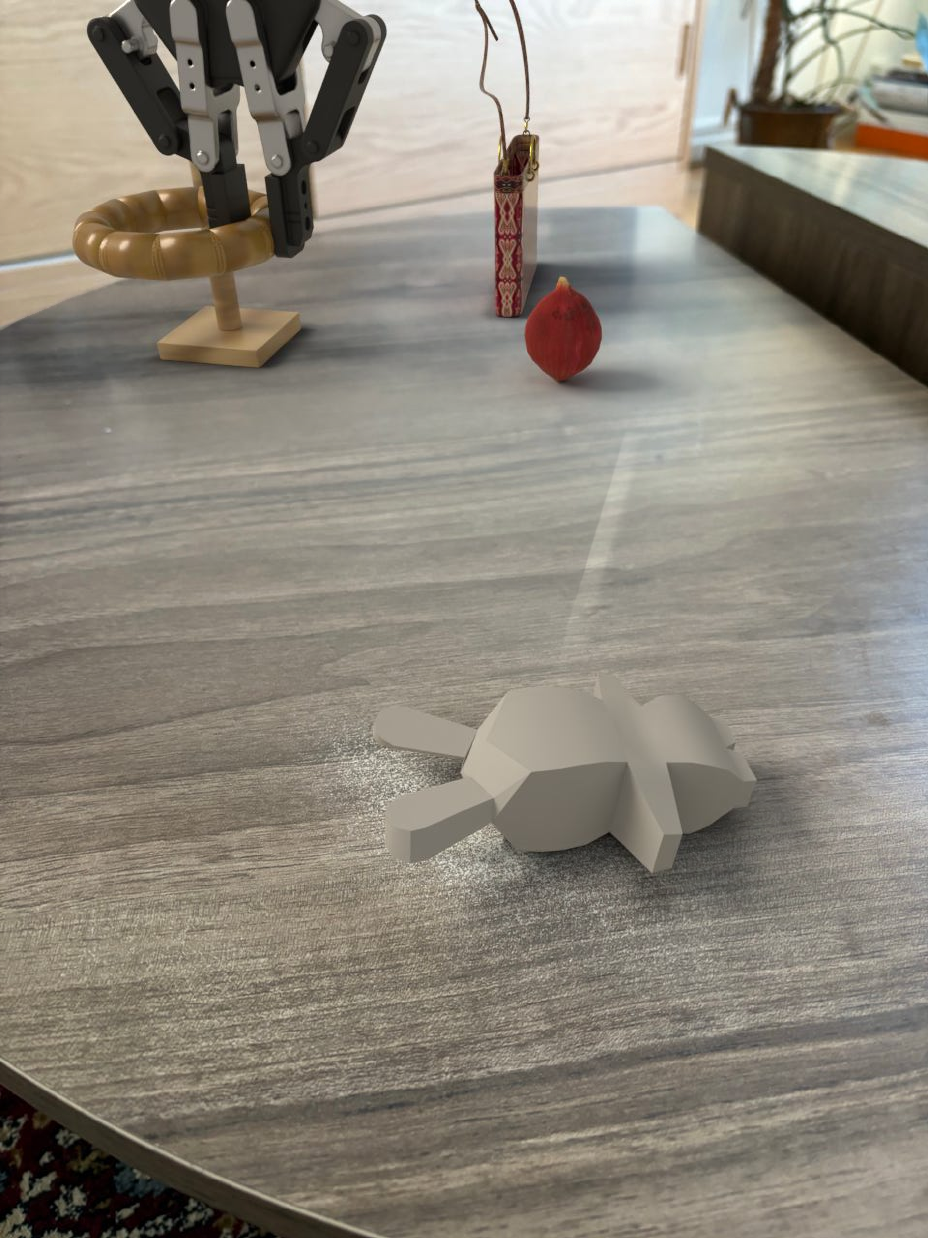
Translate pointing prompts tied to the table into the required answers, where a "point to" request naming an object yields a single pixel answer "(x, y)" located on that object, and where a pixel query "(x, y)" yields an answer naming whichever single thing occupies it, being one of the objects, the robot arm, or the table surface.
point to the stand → (228, 327)
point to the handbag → (514, 200)
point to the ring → (170, 236)
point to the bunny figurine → (569, 773)
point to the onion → (563, 332)
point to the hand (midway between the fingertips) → (264, 249)
